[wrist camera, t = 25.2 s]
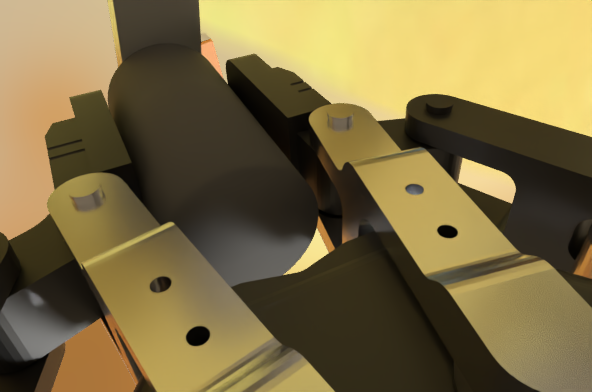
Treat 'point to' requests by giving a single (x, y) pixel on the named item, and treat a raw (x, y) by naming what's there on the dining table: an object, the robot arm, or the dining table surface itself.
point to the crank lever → (203, 147)
